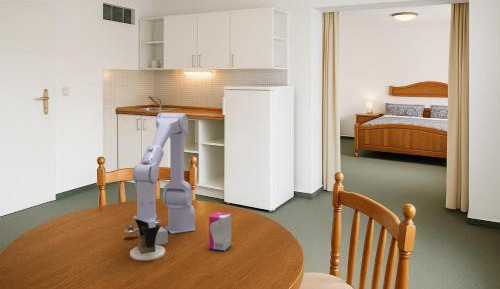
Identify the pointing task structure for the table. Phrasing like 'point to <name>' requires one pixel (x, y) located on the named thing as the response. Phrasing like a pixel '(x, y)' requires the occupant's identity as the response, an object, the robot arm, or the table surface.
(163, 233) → the grey block
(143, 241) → the walnut block
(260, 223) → the table surface
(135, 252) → the dish
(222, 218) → the supplement box
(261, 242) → the table surface
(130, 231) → the balance
